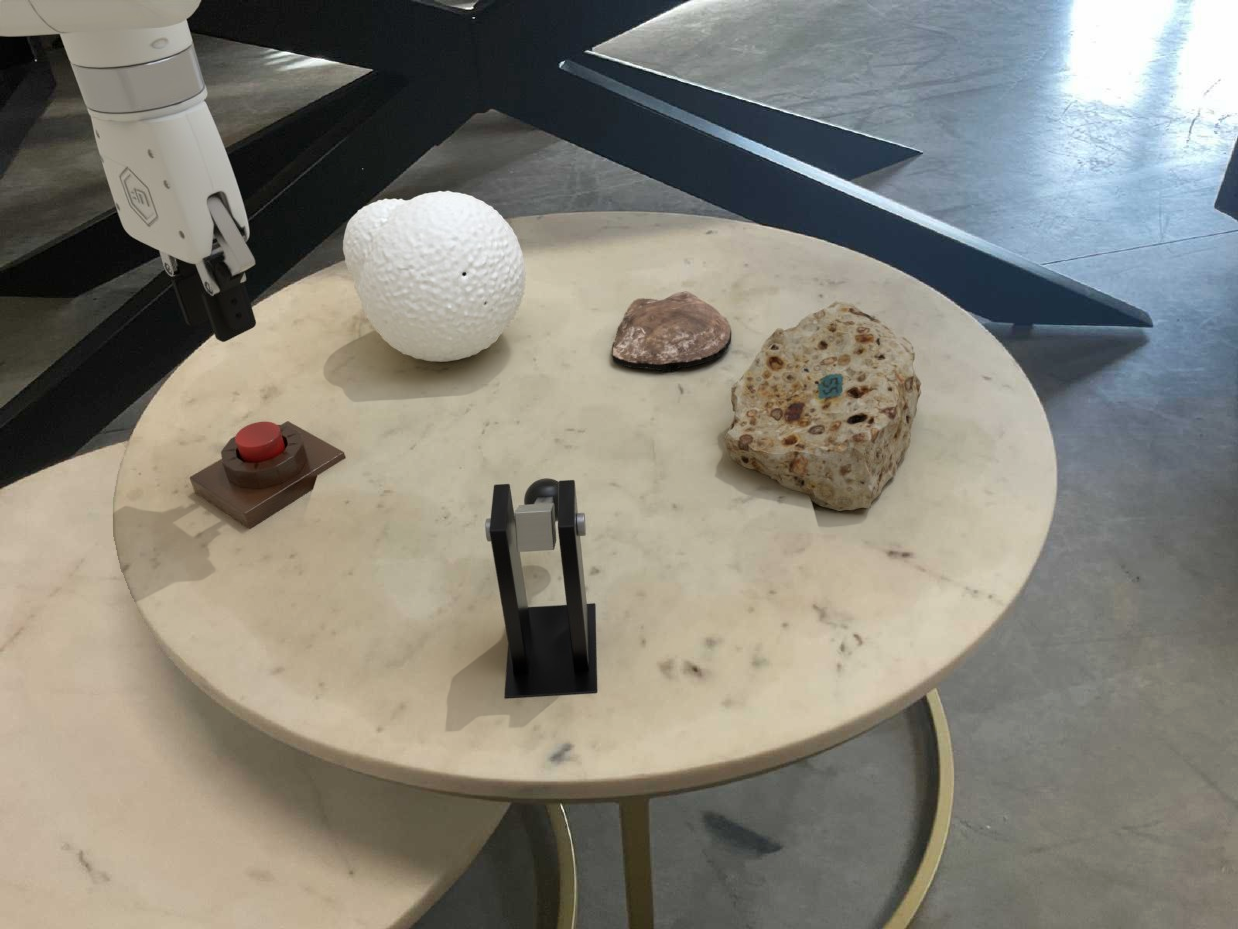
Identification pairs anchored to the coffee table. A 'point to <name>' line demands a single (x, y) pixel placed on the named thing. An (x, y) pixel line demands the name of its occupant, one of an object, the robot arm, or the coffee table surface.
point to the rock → (827, 407)
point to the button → (259, 442)
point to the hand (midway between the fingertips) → (221, 323)
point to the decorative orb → (435, 273)
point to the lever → (538, 517)
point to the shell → (670, 333)
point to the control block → (265, 476)
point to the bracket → (544, 607)
